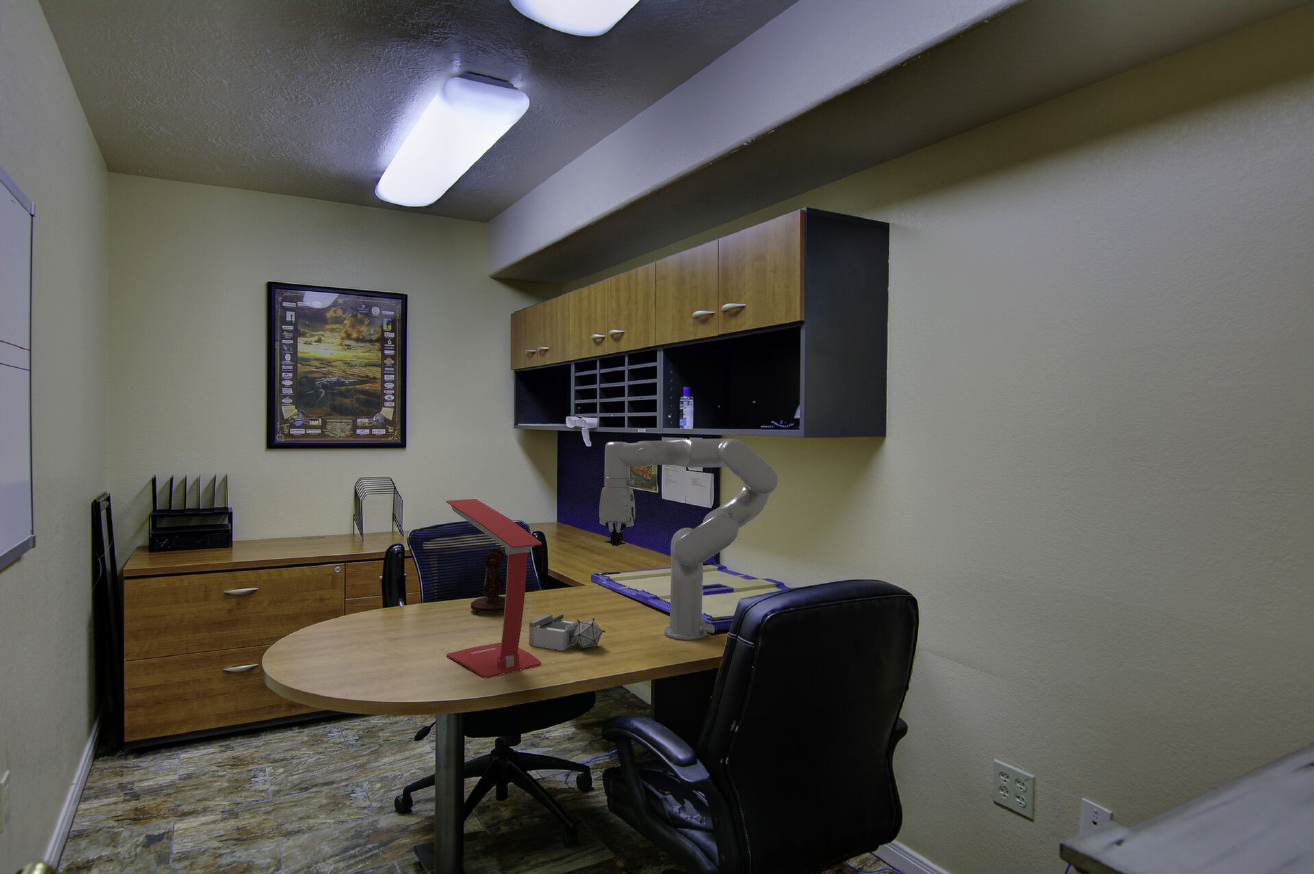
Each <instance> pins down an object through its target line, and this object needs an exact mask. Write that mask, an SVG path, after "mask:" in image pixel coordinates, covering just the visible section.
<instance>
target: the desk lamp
mask: <svg viewBox="0 0 1314 874" xmlns="http://www.w3.org/2000/svg"><path fill="white" fill-rule="evenodd" d="M445 502H446V503H447V504H448V505H450V506H451V507H450V508H451V509H452V511H453V512H454V513H456V514H457V515H458V516H460V517H461V518H462V519H463V520H465V521H467V522H468V523H470V525H472V526H473V527H475V528H477V529H478V530H479V531H481V532H482V533H484V534H485V535H487V536H488V537H489V538H491V539H493V540H494V541H496V542H497V543H498V544H499V545H501V546H503V547H505V549H504V552H505V554H506V555H507V567H506V585H505V596H506V599H505V610H504V611H503V624H502V632H501V640H500V642H497V643H491V644H490V643H489V644H484V645H479V646H473V647H470V648H469V647H468V648H466V649H465V648H464V649H461V650H457V651H453V652H448V653H446V658H448V657H449V659H450V660H452V661H454V662H456V663H458V664H460V665H462V666H464V667H465V668H468V669H469V670H471V671H472V672H474V673H476V674H477V675H478V676H480V677H481V678H484V677H489V678H492V677H491V676H493V677H495V676H494V675H498V676H500V675H499V674H502V673H506V674H509V673H508V672H510V673H513V672H512V671H515V672H517V670H519V671H521V670H520V669H523V668H527V669H531V668H530V667H532V668H534V667H533V666H536V667H539V665H540V664H541V665H542V662H541V660H540V659H538V658H537V657H535V656H534V655H533V654H531V653H530V652H529V651H526V650H525V649H522V648H520V647H519V644H520V639H521V638H520V637H521V632H522V624H523V616H524V606H525V598H526V597H525V596H526V585H527V584H526V583H527V567H528V553H530V552H531V551H532V548H533V547H536V546H542V545H543V544H542V541H541V540H539V539H538V538H537V537H534V536H533V534H531V533H529V532H528V531H526V529H525V528H523V527H522V526H520V525H518V524H517V523H516V522H515V521H513V520H512V519H511V518H509V517H507V516H506V515H504V514H502V513H500V512H499V511H498V510H496V509H493V508H492V507H490V506H489V505H487V504H486V503H484V502H482V501H480V500H479V499H476V498H469V499H453V500H452V499H450V500H446V501H445ZM541 665H540V666H541ZM523 670H524V669H523ZM502 675H503V674H502Z"/></svg>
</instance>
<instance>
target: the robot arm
mask: <svg viewBox="0 0 1314 874" xmlns="http://www.w3.org/2000/svg"><path fill="white" fill-rule="evenodd" d="M604 448H605V449H604V487H602V489H601V493H600V498H599V499H600V500H599V509H598V513H599V514H598V517H599V524H600V525H602V526H605V527H606V528H607V529H608V532H609V533H610V543H611V546H612V547H614V546H615V547H618V546H621V544H622V542H623V532H624V530H626V528H628V527H629V528H630V527H633V526H634V525H635V523H634V520H635V519H636V504H635V503H636V502H635V495H634V489H633V488H631V486H634V485H635V480H632V479H631V467H636V468H637V467H638V468H648V467H650V466H676V467H677V466H678V467H682V468H691V469H692V468H693V469H694V468H695V469H696V468H728V469H729V470H730V471H731V472H732V473H733V474H734V475H735V476H737V477H738V478H739V480H741V481H742V482H743V486H742V489H741V490H740V492H738V494H737V495H735V496H734V497H732V498H731V499H729V500H728V501H727V502H725V503H723V504H722V505H720V506H718V507H717V508H716V509H715V508H714V510H712V511H709V513H707V514H706V515H705V516H704V519H703V520H702V523H700V524H699V525H697V527H694V528H691V527H683V528H680V529H678V531H676V532H675V533H674V534H673V536H672V539H671V542H670V598H669V599H670V600H669V601H670V604H669V605H670V606H669V607H670V609H669V613H670V614H669V626H666V627H665V629H664V635H665V636H667V637H669V638H671V639H675V640H682V641H693V640H699V639H704V638H705V637H706V636H707V633H710V634H714V633H715V630H716V627H715V626H714V624H710V623H706V618H703V617H702V616H703V581H704V562H706V561H707V560H709V559H711V558H712V557H713V556H716V555H717V554H718V553H720V552H721V551H723V550H724V549H726V548H728V547H729V546H730V545H732V544H733V543H734V542H735V540H736V539H737V537H738V535H739V531H740V529H741V528H743V527H744V526H745V525H747V524H748V523H750V522H751V521H752V520H754V519H755V518H757V516H759V514H760V513H761V512H762V511H763V510H764V509H765V506H766V505H767V502H768V499H769V496H770V494H771V493H773V492H774V491H775V490H776V488H777V486H778V483H779V478H778V474H777V472H776V471H775V470H774V468H772V467H771V466H770V465H769V464H768V463H767V462H766V461H765V460H764V459H762V458H761V457H760V456H759V455H757V453H756V452H754V451H753V450H752V449H751V448H750V446H748V445H747V444H746V443H745V442H743V441H742V440H740V439H737V438H686V439H678V440H641V441H637V442H631V443H629V442H625V441H609V442H608V441H607V443H606V444H605V446H604Z"/></svg>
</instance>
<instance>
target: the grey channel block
mask: <svg viewBox="0 0 1314 874" xmlns="http://www.w3.org/2000/svg"><path fill="white" fill-rule="evenodd" d="M560 619H562V620H563V619H564V614H559V615H558V616H555V617H553V619H551V620H549V621H547V622H545V623H543V624H540V628H543V627H545V626H548V625H550V628H554V629H560V630H566V645H570V644H572V643H574V642H575V641H576V639H575V638H574V637H573V638H571V636H574V633H575V631H576V628H577V626H578V623H579V622H577V620H576V621H573V622H574V623H571V624H569V625H567V626H565V629H561V628H555V627H554V622H556V621H558V620H560Z"/></svg>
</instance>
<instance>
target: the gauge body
mask: <svg viewBox="0 0 1314 874" xmlns="http://www.w3.org/2000/svg"><path fill="white" fill-rule="evenodd" d="M553 616H554V615H553V614H550V613H547V614H545V615H543V616H540V617H538V618H536V619H533V620H530V621H529V622H528V623H529V628H528V630H529V632H528V633H529V634H528V645H529V646H534V647H539V648H544V647H546V648H545V649H550V650H555V649H557V651H561V650H562V651H565V650H567V649H569V648H571V647H573V646H574V645H576V644H578V643H577V641H575V642H574V643H572V644H570V645H566V630H560V629H554V628H550V625H548V626H545V627H543V628H540V624H543V623H545V622H547V621H549V620H551V619H553V618H554V617H553ZM574 622H575V621H568V620H564V619H563V618H562V619H560V620H558V621H556V622H554V627H555V628H561V629H565V626H567V625H569V624H571V623H574ZM573 644H574V645H573ZM570 646H571V647H570ZM568 647H569V648H568ZM564 649H565V650H564Z"/></svg>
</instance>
